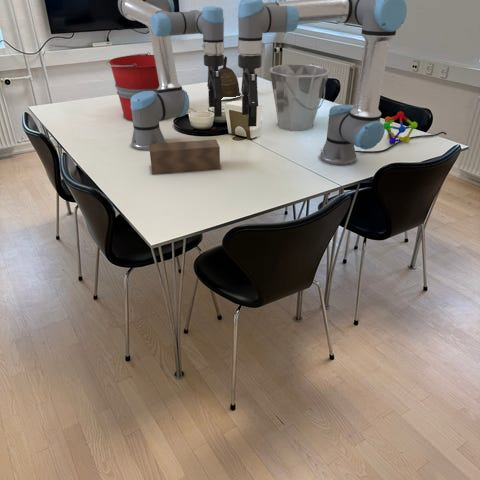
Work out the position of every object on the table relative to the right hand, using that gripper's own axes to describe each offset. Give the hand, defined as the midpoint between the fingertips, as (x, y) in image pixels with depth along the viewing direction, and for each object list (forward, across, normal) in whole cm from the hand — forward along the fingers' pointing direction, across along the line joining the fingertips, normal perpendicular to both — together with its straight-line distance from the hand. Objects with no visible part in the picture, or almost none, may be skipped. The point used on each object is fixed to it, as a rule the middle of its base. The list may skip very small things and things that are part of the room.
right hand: (248, 120), depth 152 cm
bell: (+26, +136, -8) cm, 139 cm away
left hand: (+4, +25, +9) cm, 27 cm away
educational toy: (+26, +41, -78) cm, 92 cm away
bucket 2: (+26, +74, -37) cm, 87 cm away
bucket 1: (+26, +103, +41) cm, 114 cm away
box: (+26, +24, +22) cm, 42 cm away
